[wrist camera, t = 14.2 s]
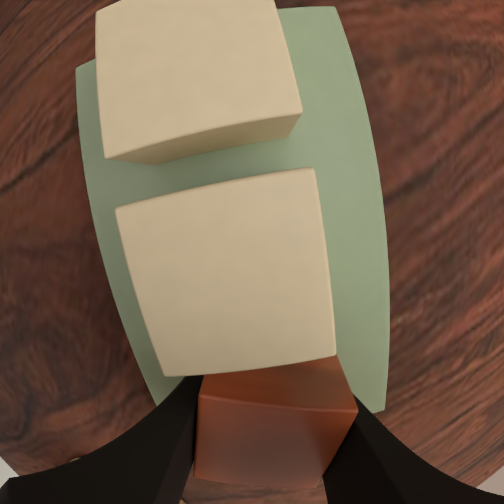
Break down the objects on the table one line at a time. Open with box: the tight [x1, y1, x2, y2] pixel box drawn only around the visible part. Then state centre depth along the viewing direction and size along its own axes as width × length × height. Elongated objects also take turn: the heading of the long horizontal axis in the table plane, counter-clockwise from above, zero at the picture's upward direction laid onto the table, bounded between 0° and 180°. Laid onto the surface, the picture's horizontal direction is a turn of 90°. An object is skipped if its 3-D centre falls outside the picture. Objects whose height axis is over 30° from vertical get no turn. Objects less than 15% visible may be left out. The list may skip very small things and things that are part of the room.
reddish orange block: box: [193, 354, 358, 489], centre depth 8 cm, size 4×4×3 cm
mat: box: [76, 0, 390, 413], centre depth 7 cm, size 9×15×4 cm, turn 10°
